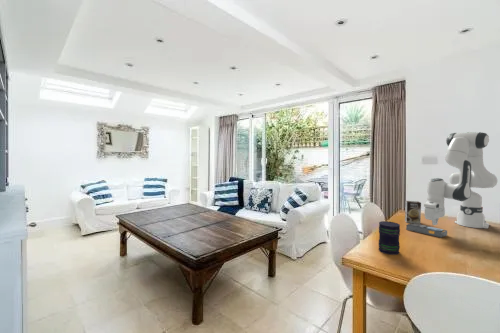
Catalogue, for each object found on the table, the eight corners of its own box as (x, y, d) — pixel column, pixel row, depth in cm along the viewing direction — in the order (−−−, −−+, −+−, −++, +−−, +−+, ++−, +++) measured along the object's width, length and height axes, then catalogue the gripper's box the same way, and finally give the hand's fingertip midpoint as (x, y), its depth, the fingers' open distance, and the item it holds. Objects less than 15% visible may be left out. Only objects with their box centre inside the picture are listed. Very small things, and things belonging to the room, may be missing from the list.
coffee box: (406, 222, 186) (407, 201, 185) (404, 220, 192) (405, 200, 191) (420, 223, 182) (421, 202, 181) (418, 221, 188) (419, 201, 187)
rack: (412, 227, 173) (412, 222, 172) (447, 235, 155) (447, 229, 155) (406, 229, 168) (406, 224, 168) (441, 238, 151) (441, 231, 151)
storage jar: (399, 256, 124) (400, 227, 123) (377, 252, 129) (378, 224, 128) (399, 250, 132) (400, 222, 131) (379, 246, 137) (379, 220, 137)
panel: (429, 231, 162) (429, 226, 162) (443, 234, 156) (443, 229, 156) (426, 232, 160) (426, 227, 159) (439, 235, 153) (440, 230, 153)
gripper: (436, 201, 165) (436, 221, 165) (422, 204, 154) (422, 225, 154) (448, 202, 160) (447, 223, 160) (434, 206, 149) (433, 228, 149)
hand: (434, 224), depth 157 cm, fingers closed
